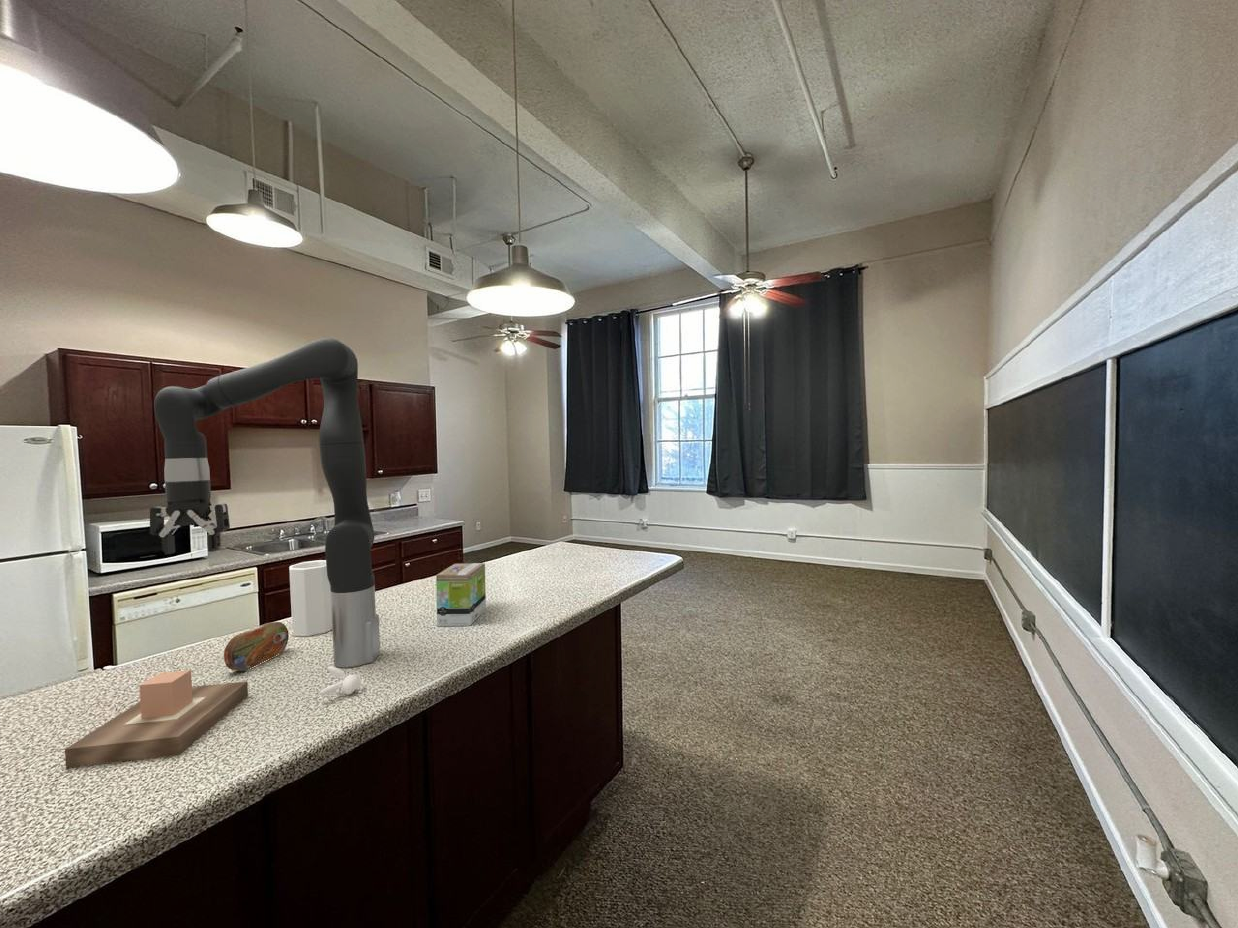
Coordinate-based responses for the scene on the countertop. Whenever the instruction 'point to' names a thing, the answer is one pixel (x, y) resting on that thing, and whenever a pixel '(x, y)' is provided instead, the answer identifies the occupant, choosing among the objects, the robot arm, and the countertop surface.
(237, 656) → the tin
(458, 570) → the tea box
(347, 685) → the rabbit figurine
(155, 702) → the block
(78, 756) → the plinth
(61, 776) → the countertop surface
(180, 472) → the robot arm
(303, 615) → the cup
